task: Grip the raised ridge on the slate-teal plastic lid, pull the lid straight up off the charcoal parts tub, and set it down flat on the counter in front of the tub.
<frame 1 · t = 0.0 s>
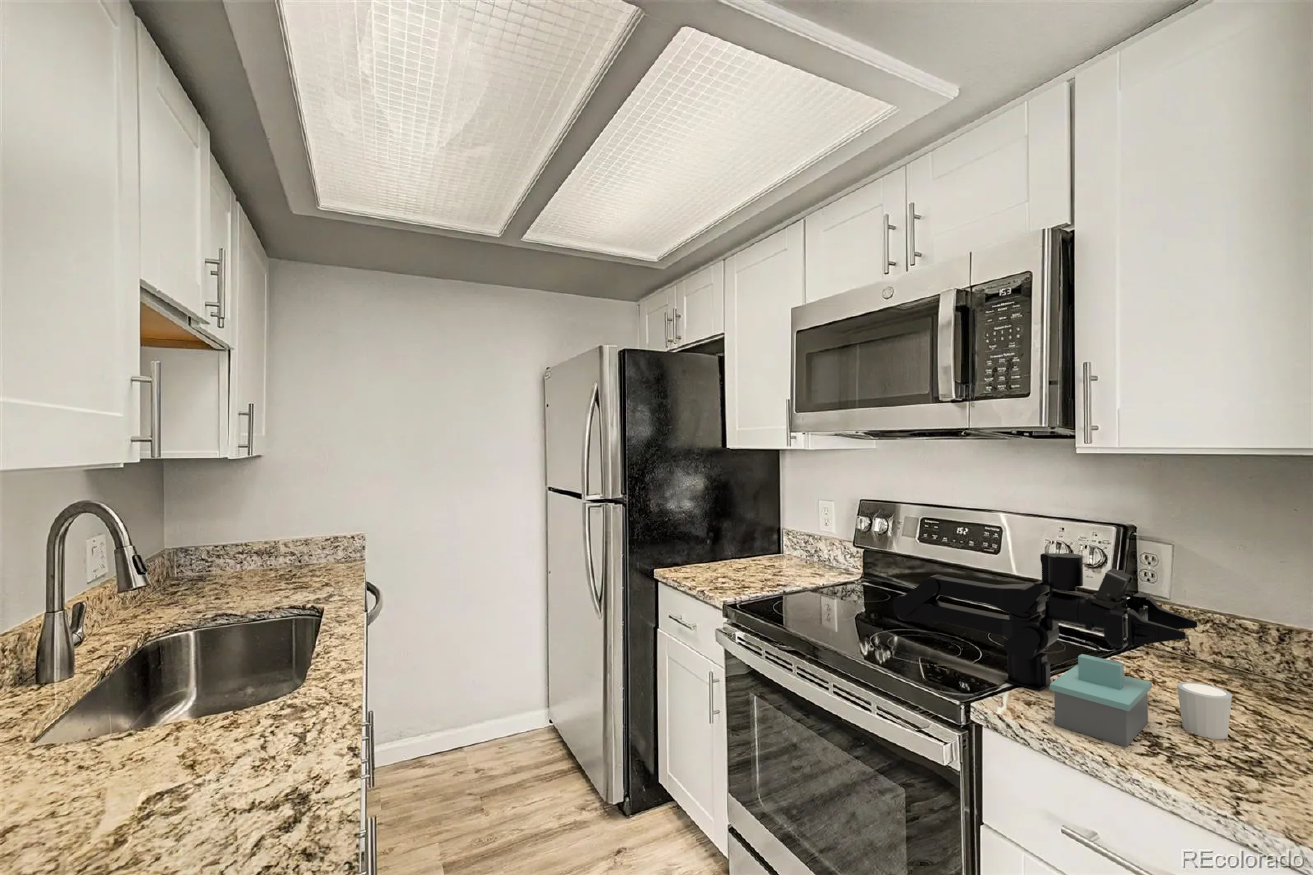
hand: (1191, 629, 102), 17 cm above the worktop, tool horizontal, fingers open, 9 cm apart
white cup: (1204, 732, 101), on the worktop
tub: (1101, 723, 104), on the worktop
lid: (1101, 694, 104), point 5 cm above the worktop, touching tub
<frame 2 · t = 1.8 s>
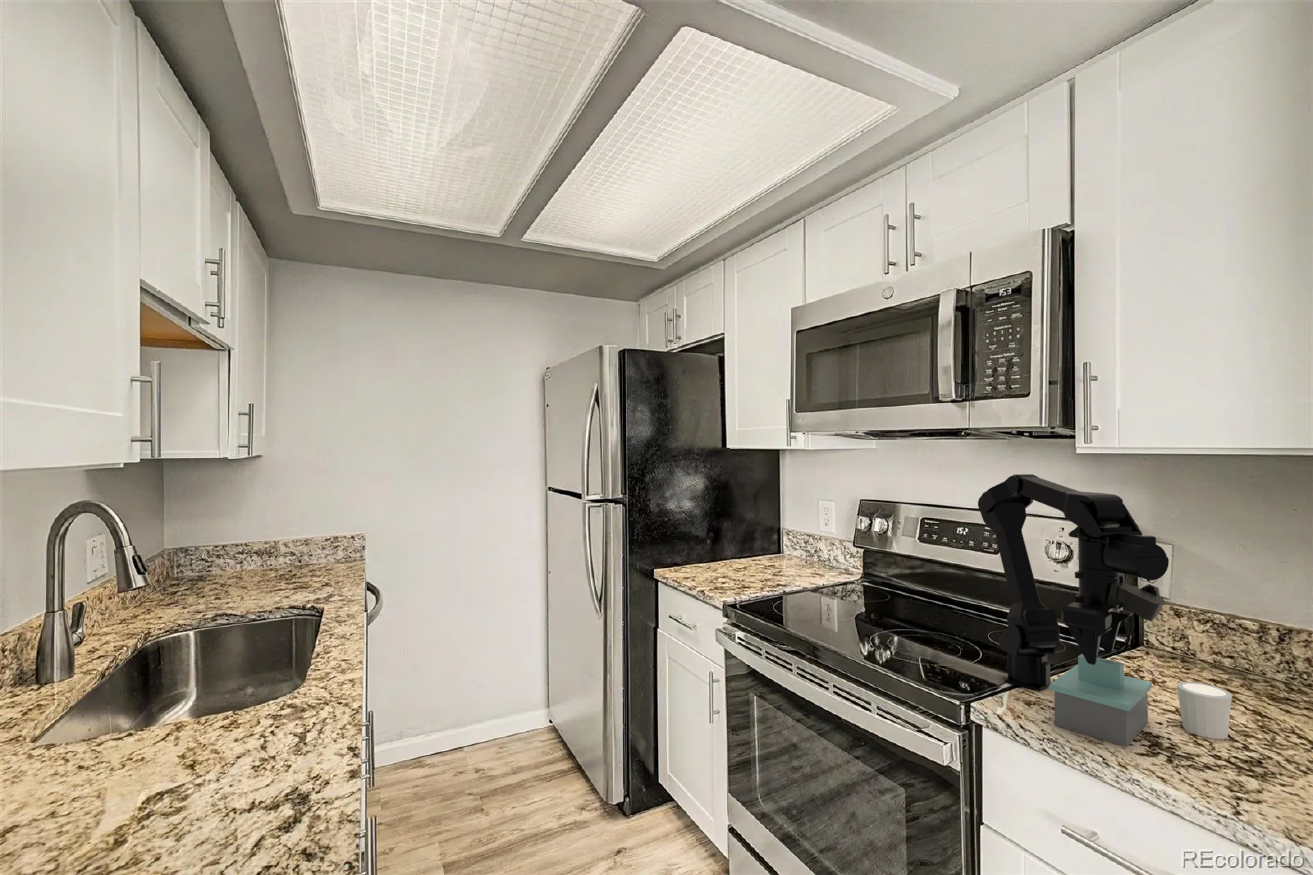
hand: (1100, 657, 104), 11 cm above the worktop, tool pointing down, fingers open, 9 cm apart
nothing on the worktop moved.
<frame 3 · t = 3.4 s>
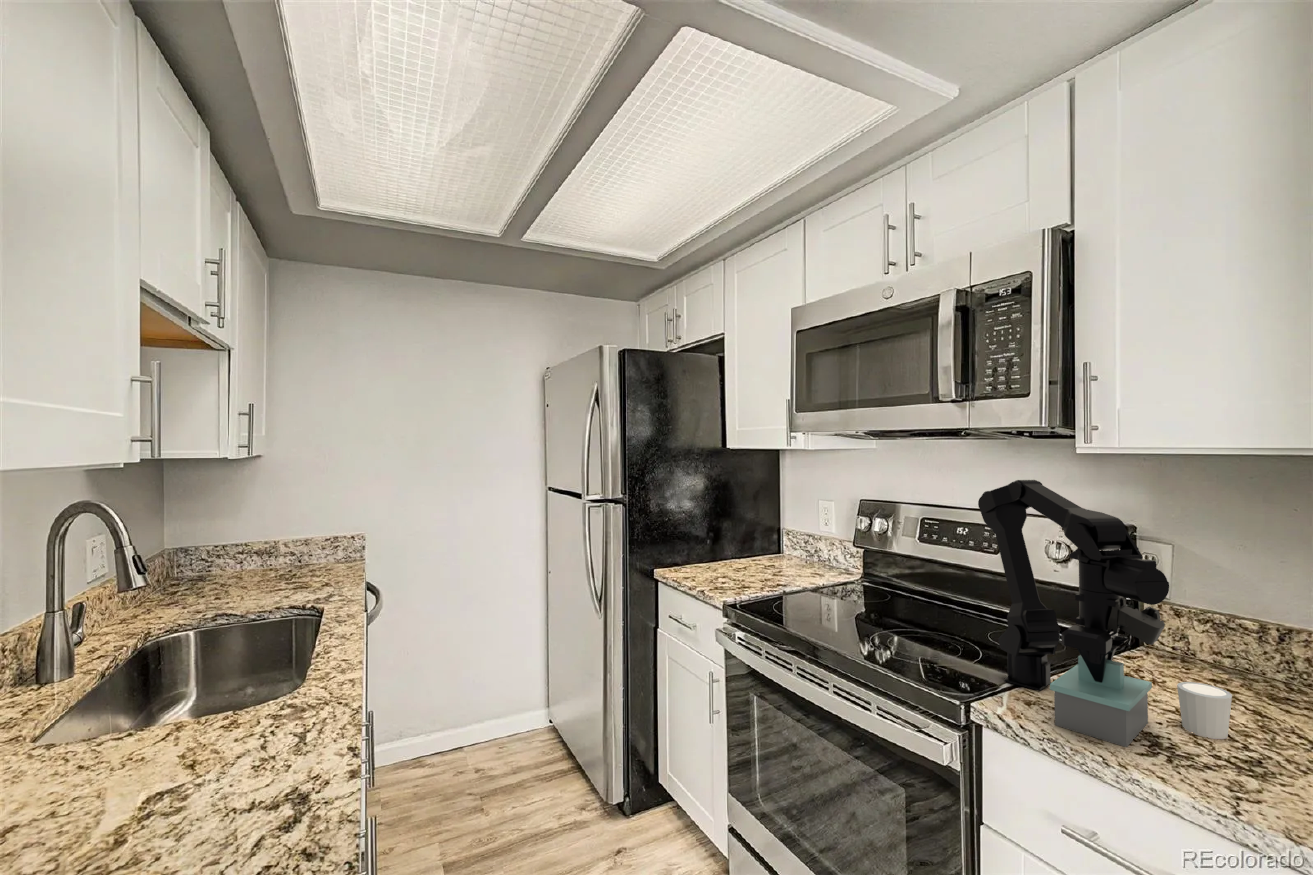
hand: (1100, 680, 104), 8 cm above the worktop, tool pointing down, fingers closed on lid
lid: (1101, 694, 104), point 5 cm above the worktop, touching gripper, tub
everything else where it was.
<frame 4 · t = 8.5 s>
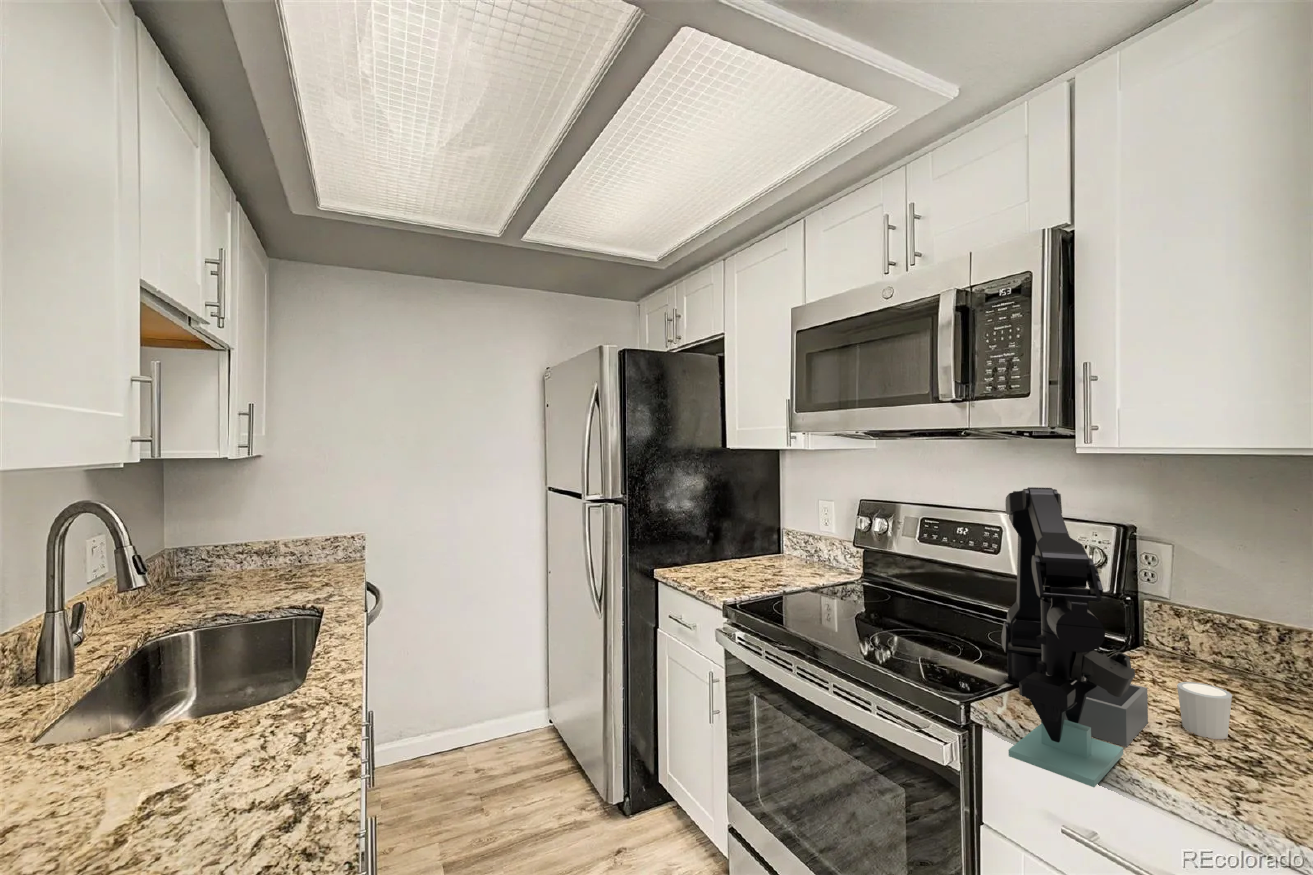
hand: (1064, 733, 93), 4 cm above the worktop, tool pointing down, fingers open, 8 cm apart
lid: (1066, 761, 93), on the worktop
everything else where it was.
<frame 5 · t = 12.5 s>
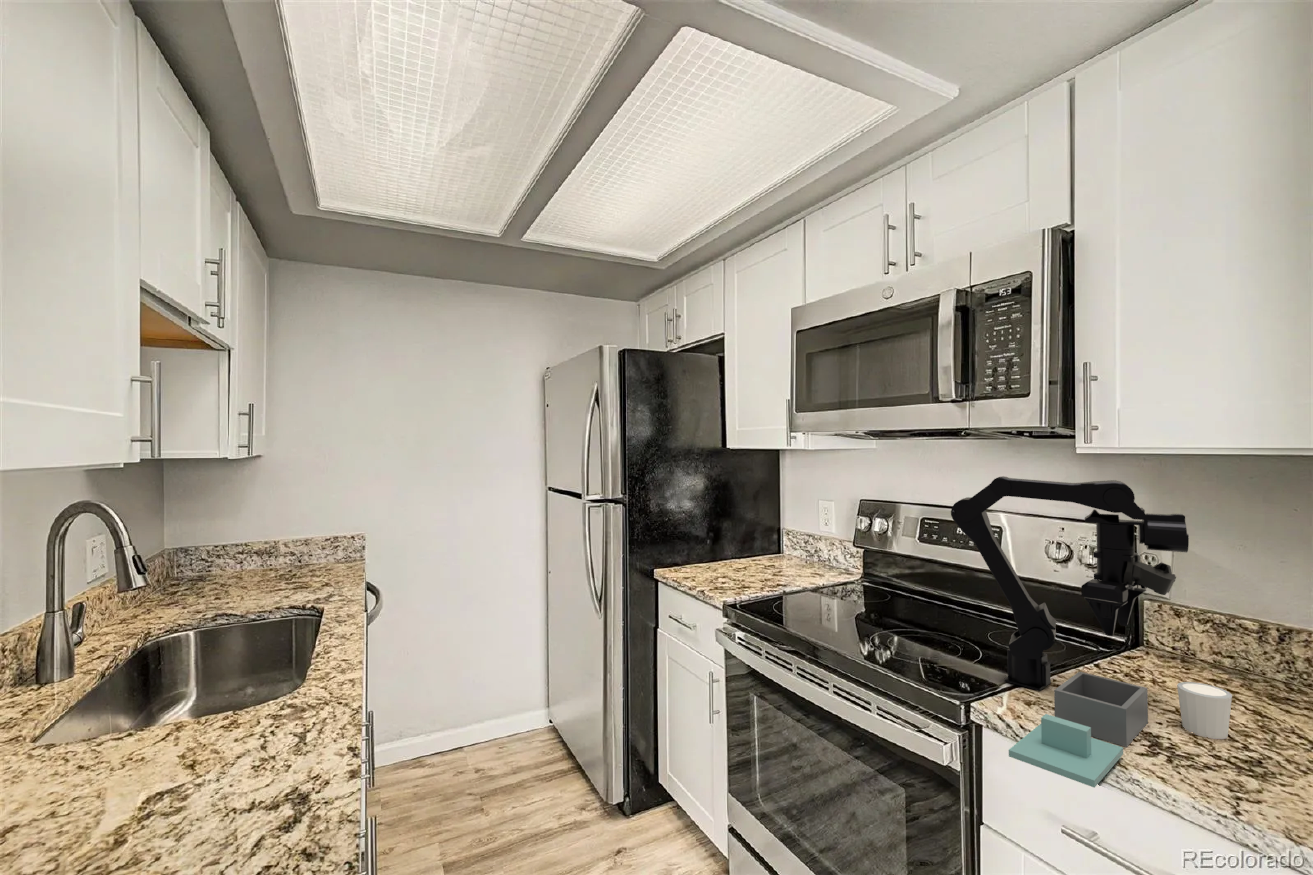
hand: (1116, 630, 114), 13 cm above the worktop, tool pointing down, fingers open, 9 cm apart
nothing on the worktop moved.
at the end: lid touching worktop; lid inside the target area (0.1 cm from its centre), on the worktop; lid tilted 0° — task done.
